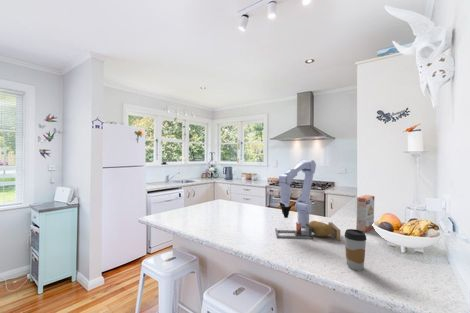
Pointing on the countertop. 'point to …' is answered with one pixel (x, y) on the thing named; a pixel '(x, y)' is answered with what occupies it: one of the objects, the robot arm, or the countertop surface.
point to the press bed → (335, 235)
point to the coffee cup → (355, 248)
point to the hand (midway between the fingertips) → (285, 215)
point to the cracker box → (365, 213)
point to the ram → (303, 233)
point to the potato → (321, 228)
